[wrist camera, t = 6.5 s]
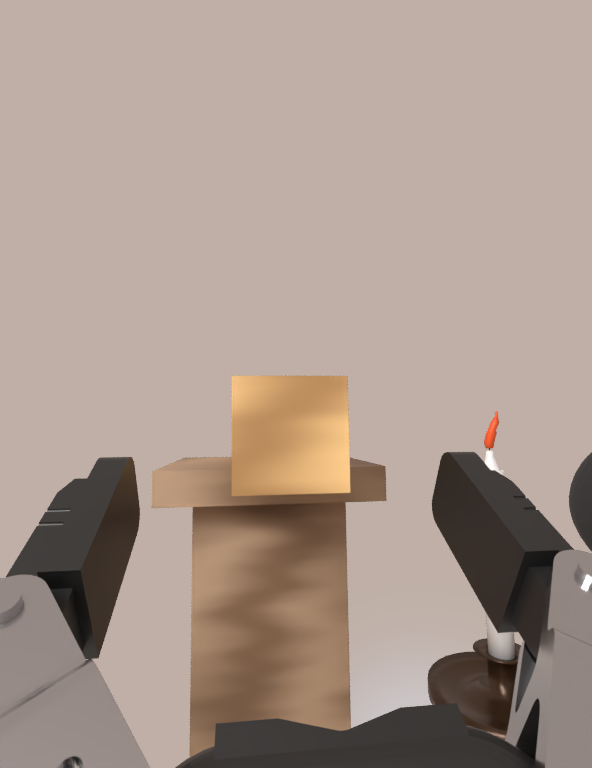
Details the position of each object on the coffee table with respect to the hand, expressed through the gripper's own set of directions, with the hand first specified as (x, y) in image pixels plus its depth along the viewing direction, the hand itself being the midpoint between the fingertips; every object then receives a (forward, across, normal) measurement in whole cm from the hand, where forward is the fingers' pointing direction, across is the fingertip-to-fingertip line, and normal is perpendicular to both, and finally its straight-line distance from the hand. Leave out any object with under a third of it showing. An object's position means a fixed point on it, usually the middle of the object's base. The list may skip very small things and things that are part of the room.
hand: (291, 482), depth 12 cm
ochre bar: (+9, 0, +6) cm, 11 cm away
